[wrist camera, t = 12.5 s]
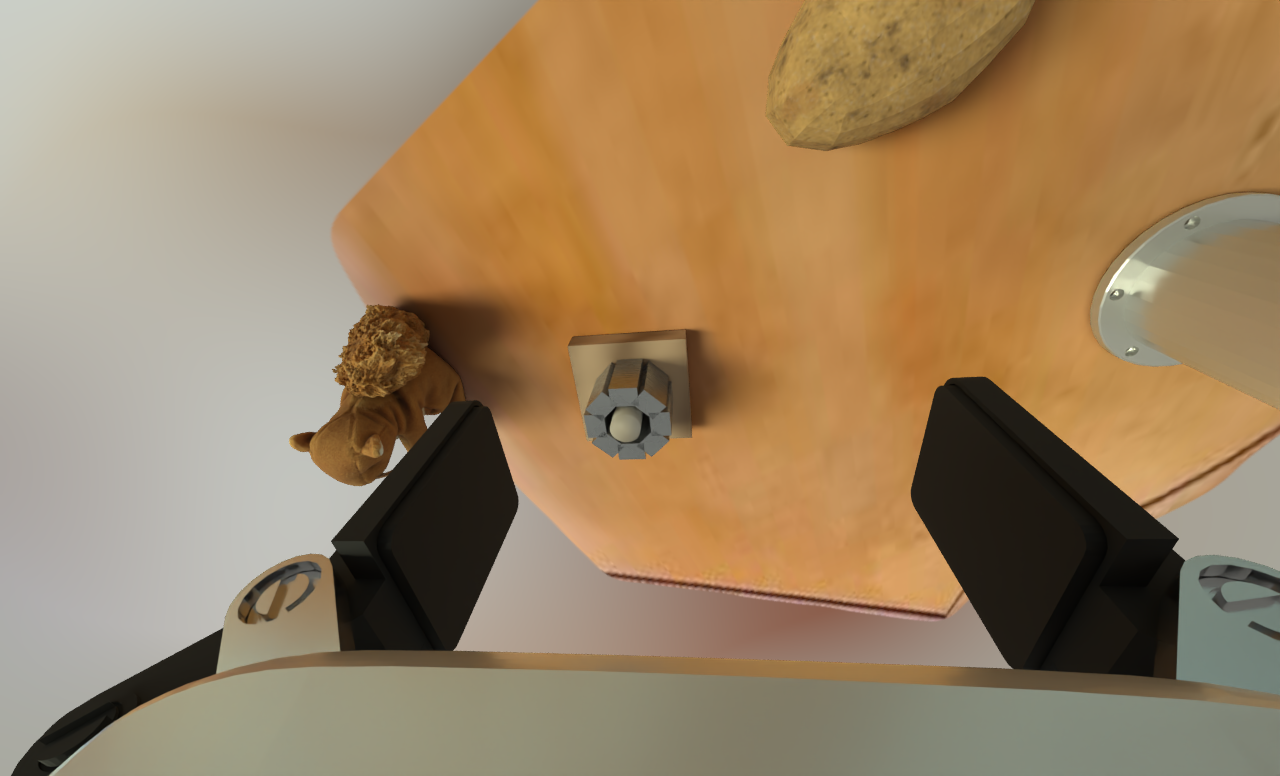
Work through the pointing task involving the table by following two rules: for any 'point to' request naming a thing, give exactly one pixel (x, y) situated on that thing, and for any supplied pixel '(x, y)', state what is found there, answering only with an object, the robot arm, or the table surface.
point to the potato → (880, 64)
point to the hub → (631, 388)
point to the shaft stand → (651, 346)
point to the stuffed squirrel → (381, 396)
